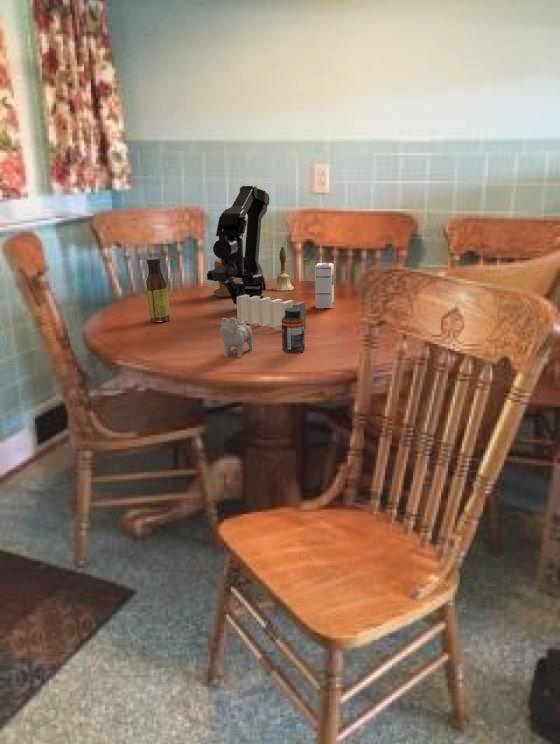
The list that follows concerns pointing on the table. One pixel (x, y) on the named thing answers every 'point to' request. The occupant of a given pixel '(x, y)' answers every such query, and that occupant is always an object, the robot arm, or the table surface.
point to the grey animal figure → (235, 335)
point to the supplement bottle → (293, 331)
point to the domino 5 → (284, 306)
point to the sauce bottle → (157, 292)
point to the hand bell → (283, 275)
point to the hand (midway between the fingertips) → (235, 304)
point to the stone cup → (222, 289)
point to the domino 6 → (301, 310)
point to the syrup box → (324, 285)
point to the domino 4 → (275, 313)
